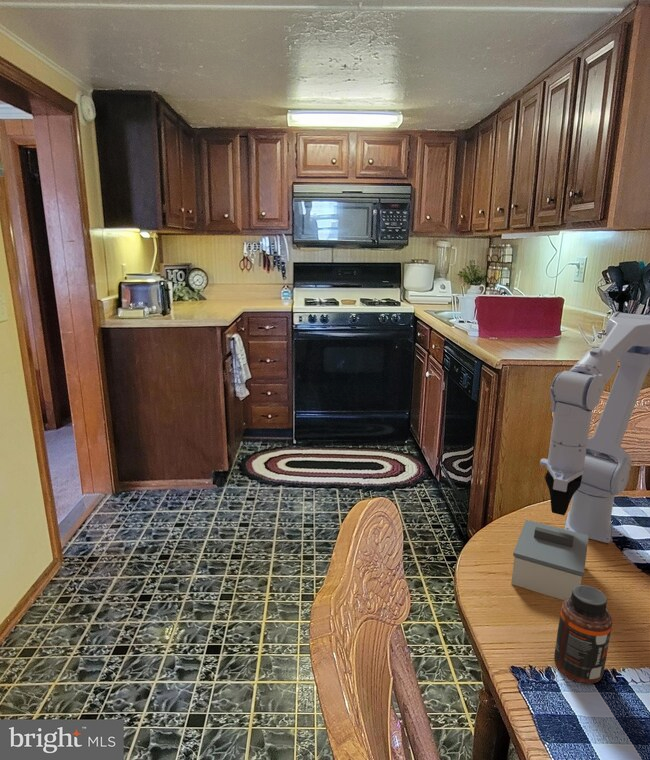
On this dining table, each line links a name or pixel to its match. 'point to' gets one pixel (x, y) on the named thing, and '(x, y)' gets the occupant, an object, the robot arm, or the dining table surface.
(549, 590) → the box
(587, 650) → the supplement bottle
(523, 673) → the dining table surface
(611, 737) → the dining table surface
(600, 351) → the robot arm
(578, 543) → the lid
